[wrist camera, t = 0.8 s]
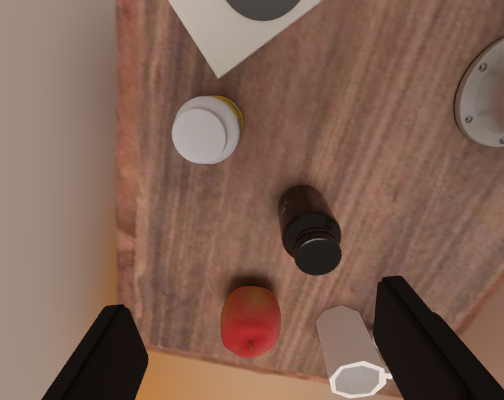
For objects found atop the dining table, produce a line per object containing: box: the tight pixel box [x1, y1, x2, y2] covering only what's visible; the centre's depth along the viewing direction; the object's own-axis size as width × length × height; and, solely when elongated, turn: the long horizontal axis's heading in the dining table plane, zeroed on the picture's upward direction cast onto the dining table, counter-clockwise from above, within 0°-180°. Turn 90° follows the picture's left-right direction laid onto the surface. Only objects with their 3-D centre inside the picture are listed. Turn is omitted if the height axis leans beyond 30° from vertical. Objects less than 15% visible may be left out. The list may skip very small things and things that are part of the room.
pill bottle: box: [172, 96, 244, 164], centre depth 27 cm, size 6×6×12 cm
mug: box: [315, 305, 393, 398], centre depth 41 cm, size 12×9×10 cm
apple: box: [221, 286, 281, 358], centre depth 39 cm, size 10×10×10 cm
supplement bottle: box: [278, 186, 342, 275], centre depth 31 cm, size 7×7×12 cm
